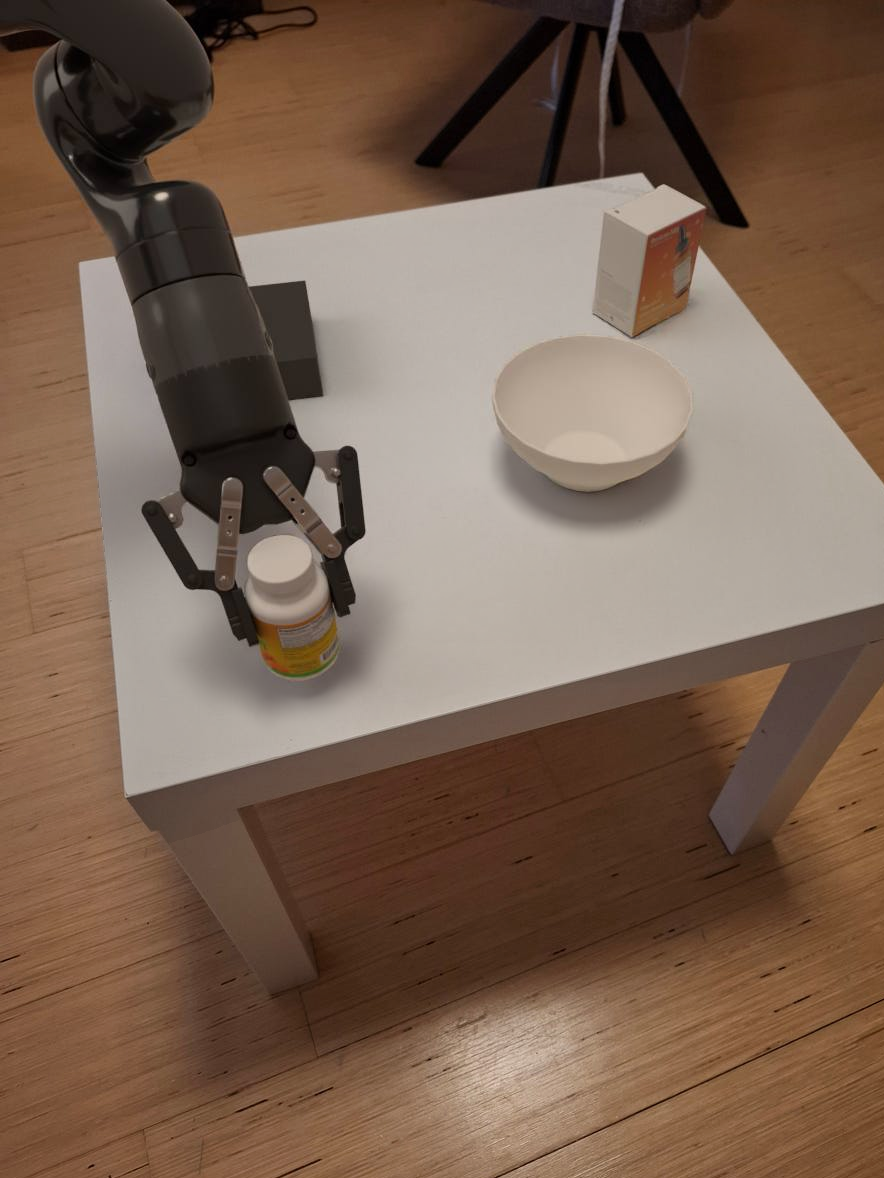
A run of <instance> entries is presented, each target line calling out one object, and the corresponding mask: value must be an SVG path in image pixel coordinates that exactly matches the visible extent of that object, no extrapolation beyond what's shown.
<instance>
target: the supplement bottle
mask: <svg viewBox="0 0 884 1178" xmlns="http://www.w3.org/2000/svg"><path fill="white" fill-rule="evenodd" d="M246 564H247V570H248V577H247V579H246V581H245V584H244V589H243V590H244V591H243V594H244V597H245V600H246V603H247V606H248V609H249V612H250V615H251V618H252V621H253V624H254V627H255V630H256V633H257V636H258V639H259V642H260V644H258V645H257V646H258V648H259V651H260V655H261V657H262V660H263V663H264V664H265V666H266V668H267V669H268V671H270V672H271V673H272V674H273V675H275V676H276V677H278V678H281V679H284V680H287V681H293V682H301V681H308V680H311V679H316V678H317V677H319V676H321V675H323V674H324V673H326V672H327V671H328V670H329V669H330V668H332V667H333V665H334V664H335V662H336V661H337V659H338V657H339V653H340V650H341V649H340V648H341V643H340V635H339V630H338V624H337V620H336V615H335V614H336V613H335V609H334V605H333V602H332V597H331V592H330V587H329V582H328V579H327V576H326V574H325V572H324V570H323V569H322V568H321V565H319V564H318V563H317V562H316V561H315V560H314V557H313V553H312V550H311V548H310V546H309V544H308V543H306V541H305V540H303V539H301V538H300V537H297V536H294V535H288V534H276V535H271V536H269V537H267V538H264V539H262V540H261V541H259V542H257V543H256V544H255V545H254V546H253V547H252V548H251V550H250V551H249V553H248V556H247V560H246Z"/></svg>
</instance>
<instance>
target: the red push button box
mask: <svg viewBox="0 0 884 1178" xmlns="http://www.w3.org/2000/svg"><path fill="white" fill-rule="evenodd" d="M248 286H249V289H250V291H251V293H252V296H253V298H254V300H255V302H256V304H257V306H258V308H259V311H260V313H261V316H262V318H263V321H264V324H265V327H266V330H267V333H268V334H269V335H270V338H271V340H272V343H273V353H274V356H275V359H276V362H277V365H278V369H279V372H280V375H281V378H282V381H283V384H284V388H285V391H286V394H287V397H288V400H289V401H291V400H299V399H306V398H307V399H308V398H314V397H323V396H324V391H323V385H322V379H321V377H322V376H321V371H320V366H319V365H320V364H319V359H318V352H317V345H316V338H315V332H314V325H313V318H312V312H311V307H310V301H309V293H308V289H307V281H306V279H305V280H297V281H296V280H295V281H287V282H278V283H269V284H268V283H267V284H260V285H258V284H257V285H251V286H250V285H248Z"/></svg>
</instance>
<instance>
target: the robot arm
mask: <svg viewBox="0 0 884 1178" xmlns="http://www.w3.org/2000/svg"><path fill="white" fill-rule="evenodd" d="M33 30H34V31H42V32H46V33H49V34H51V35H53V36H55V37H56V38H59V39H60V40H59V41H58V42H56V43H55V44H53V45H52V46H51V47H49V48H48V49H47V50H45V52H44V53H43V54H42V55H41V57H40V58H39V59H38V61H37V63H36V66H35V67H34V68H35V69H34V70H33V71H34V72H33V77H32V101H33V106H34V112H35V115H36V119H37V122H38V125H39V127H40V130H41V132H42V134H43V136H44V138H45V140H46V142H47V144H48V145H49V147H50V149H51V151H52V152H53V154H54V156H55V157H56V158H57V160H58V162H59V163H60V165H61V167H62V168H63V169H64V171H65V173H66V174H67V176H68V177H69V179H70V180H71V182H72V183H73V185H74V187H75V188H76V190H77V192H78V194H79V195H80V196H81V198H82V200H83V202H84V203H85V205H86V206H87V208H88V209H89V211H90V212H91V214H92V216H93V217H94V219H95V220H96V222H97V223H98V225H99V227H100V228H101V230H102V231H103V233H104V234H105V236H106V238H107V239H108V241H109V243H110V245H111V249H112V252H113V255H114V259H115V262H116V264H117V268H118V270H119V273H120V276H121V280H122V283H123V286H124V289H125V291H126V294H127V297H128V300H129V304H130V307H131V310H132V313H133V317H134V321H135V326H136V333H137V338H138V341H139V346H140V349H141V352H142V353H141V354H142V356H143V358H144V362H145V367H146V372H147V375H148V377H149V379H150V380H151V382H152V385H153V388H154V392H155V394H156V396H157V400H158V403H159V406H160V409H161V412H162V415H163V418H164V421H165V423H166V427H167V429H168V432H169V435H170V439H171V441H172V444H173V448H174V451H175V453H176V456H177V460H178V462H179V465H180V469H181V473H180V475H181V476H180V482H179V488H177V489H175V490H173V491H171V492H169V493H167V494H164V495H162V496H161V497H159V498H157V499H154V500H153V499H150V500H146V501H145V502H144V503H143V504H142V505H141V514H142V516H143V518H144V520H145V521H146V523H147V525H148V526H149V529H150V530H151V532H152V533H153V535H154V537H155V539H156V540H157V542H158V543H159V545H160V547H161V548H162V550H163V553H164V554H165V556H166V557H167V560H168V561H169V562H170V565H171V566H172V567H173V569H174V571H175V573H176V574H177V576H178V578H179V579H180V581H181V583H182V584H183V587H185V588H186V589H188V590H190V591H195V590H199V591H201V590H202V591H211V592H214V593H216V594H217V595H218V596H219V598H220V600H221V602H222V605H223V609H224V612H225V615H226V618H227V622H228V624H229V626H230V630H231V632H232V635H233V636H234V638H236V640H237V641H239V642H240V641H242V640H246V642H247V645H248V647H249V648H251V647H252V648H253V647H255V646H259V645H258V644H260V642H259V639H258V636H257V633H256V630H255V627H254V624H253V621H252V618H251V615H250V612H249V609H248V606H247V603H246V600H245V595H244V591H243V588H242V587H241V586H238V582H237V580H236V571H237V558H238V550H239V549H238V548H239V539H240V535H241V536H243V535H246V534H250V533H253V532H256V531H257V530H259V529H261V528H262V527H263V526H277V525H280V524H284V523H287V522H290V521H291V522H292V523H293V525H295V527H296V529H298V530H299V531H300V532H301V534H302V535H303V536H304V537H305V538H306V539H307V540H308V541H309V542H310V544H311V545H312V546H313V547H314V549H316V551H317V552H318V553H319V555H320V556H321V559H322V561H320V562H319V564H320V565H319V566H320V567H321V568H322V569H323V570H324V572H325V574H326V576H327V579H328V582H329V587H330V592H331V597H332V603H333V608H334V613H335V614H336V616H337V617H338V618H344V617H347V616H351V614H352V613H351V608H350V606H352V605H354V604H356V598H357V597H356V596H357V595H356V590H355V589H354V584H353V580H352V579H351V575H350V572H349V569H348V566H347V562H346V559H345V555H346V553H347V550H348V549H349V548H350V547H352V546H353V545H354V544H355V543H357V542H358V541H360V540H362V539H363V538H364V537H365V536H366V522H365V521H366V520H365V511H364V504H363V503H364V501H363V493H362V485H361V476H360V475H361V474H360V465H359V457H358V451H357V450H356V448H355V447H354V446H351V445H344V446H342V447H341V448H339V449H329V450H316V451H313V449H312V448H311V447H310V446H309V445H308V444H307V443H306V442H305V440H303V438H302V436H301V435H300V432H299V429H298V426H297V423H296V420H295V416H294V414H293V411H292V407H291V404H290V400H288V397H287V394H286V391H285V388H284V384H283V381H282V378H281V375H280V372H279V369H278V365H277V362H276V359H275V356H274V353H273V343H272V340H271V338H270V335H269V334H268V333H267V330H266V327H265V324H264V321H263V318H262V316H261V313H260V311H259V308H258V306H257V304H256V302H255V300H254V298H253V296H252V293H251V291H250V289H249V286H250V285H249V284H248V281H247V280H246V279H247V278H246V275H245V271H244V267H243V265H242V262H241V261H242V260H241V258H240V256H239V252H238V249H237V246H236V243H235V239H234V237H233V233H232V231H231V227H230V224H229V221H228V217H227V215H226V213H225V210H224V208H223V205H222V203H221V201H220V199H219V198H218V197H217V194H216V193H215V192H214V191H213V190H212V189H211V188H210V187H209V186H208V185H205V184H203V183H202V182H199V181H194V180H189V179H168V180H159V181H157V180H156V179H155V177H154V176H153V174H152V172H151V169H150V167H149V163H148V157H149V156H151V155H152V154H154V153H156V152H157V151H159V150H160V149H162V148H164V147H165V146H167V145H169V144H171V143H173V142H174V141H175V140H177V139H179V138H181V137H182V136H184V135H186V134H188V133H189V132H191V131H192V130H194V129H195V128H197V127H199V125H200V124H201V123H202V122H203V121H205V119H206V118H207V117H208V115H209V114H210V111H211V110H212V107H213V105H214V100H215V93H216V91H215V88H216V87H215V79H214V73H213V69H212V66H211V63H210V59H209V57H208V54H207V52H206V50H205V48H204V46H203V44H202V43H201V41H200V39H199V37H198V35H197V34H196V32H195V31H194V30H193V28H192V27H191V25H190V24H189V23H188V22H187V20H186V19H185V17H183V16H182V15H181V13H180V12H179V11H177V9H175V7H174V6H172V5H171V4H170V3H169V2H168V1H167V0H0V37H5V36H9V35H13V34H16V33H21V32H26V31H33ZM315 468H317V469H320V470H321V471H322V473H323V475H324V478H325V480H326V482H328V483H330V484H333V485H334V484H336V485H335V487H336V494H337V495H336V496H337V504H338V512H339V513H338V514H339V521H340V528H339V529H337V530H336V531H335V532H333V533H332V532H331V530H330V529H329V528H328V526H326V524H325V523H324V521H323V520H322V518H321V517H320V515H319V514H318V513H317V512H316V511H315V510H314V508H313V507H312V506H311V504H310V503H309V502H308V501H307V500H306V499H305V496H306V494H307V491H308V487H309V484H310V483H311V479H312V476H313V472H314V469H315ZM185 504H189V505H190V506H192V507H193V508H195V509H196V510H197V511H199V512H200V513H202V514H203V515H204V516H206V518H208V519H209V520H211V521H212V522H214V523H215V524H217V525H218V527H217V538H216V548H215V549H216V550H215V562H214V563H215V565H214V569H199V567H198V566H197V564H196V562H195V560H194V559H193V557H192V556H191V553H190V551H189V550H188V548H187V546H186V545H185V543H184V542H183V539H182V538H181V536H180V535H179V533H178V531H177V529H179V528H181V527H182V525H183V524H184V516H183V513H182V511H183V510H182V509H183V507H184V506H185Z"/></svg>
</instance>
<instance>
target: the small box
mask: <svg viewBox="0 0 884 1178" xmlns="http://www.w3.org/2000/svg"><path fill="white" fill-rule="evenodd" d="M706 212H707V207H706V206H705V205H704V204H702V203H700V202H698V201H696V200H695V199H692V198H691V197H689V196H688V195H685V194H684V193H681V192H680V191H678V190H676V189H674V188H672V187H671V186H669V185H666V184H663V183H662V184H661V185H658V186H657V187H656V188H654V189H652V190H650V191H647V192H646V193H643V194H641V195H639V196H637V197H634V198H633V199H630V200H628V201H626V202H624V203H622V204H619V205H616V206H615V207H612V208H609V209H606V210H604V211H603V219H602V225H601V226H602V227H601V234H600V235H601V236H600V245H599V253H598V263H597V270H596V271H597V272H596V277H595V279H596V280H595V288H594V296H593V305H592V313H593V314H594V315H596V316H598V317H599V318H601V319H602V320H604V321H605V322H607V323H609V324H610V325H612V326H613V327H615V328H617V329H618V330H619V331H621V332H623V333H624V334H626V335H627V336H629V337H630V338H633V337H635V336H637V335H638V334H640V333H642V332H643V331H645V330H647V329H649V328H650V327H652V326H654V325H656V324H658V323H660V322H662V321H664V320H666V319H668V318H670V317H671V316H674V315H676V314H677V313H680V312H682V311H684V310H685V309H686V308H687V305H688V301H689V297H690V291H691V287H692V281H693V278H694V277H693V276H694V271H695V267H696V261H697V256H698V252H699V246H700V241H701V237H702V233H703V228H704V222H705V218H706V214H707V213H706Z"/></svg>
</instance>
